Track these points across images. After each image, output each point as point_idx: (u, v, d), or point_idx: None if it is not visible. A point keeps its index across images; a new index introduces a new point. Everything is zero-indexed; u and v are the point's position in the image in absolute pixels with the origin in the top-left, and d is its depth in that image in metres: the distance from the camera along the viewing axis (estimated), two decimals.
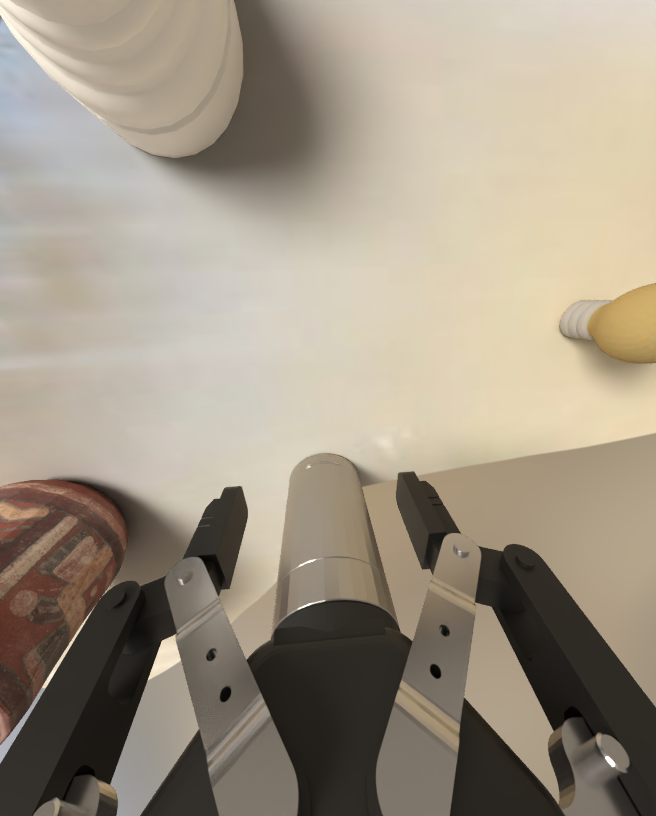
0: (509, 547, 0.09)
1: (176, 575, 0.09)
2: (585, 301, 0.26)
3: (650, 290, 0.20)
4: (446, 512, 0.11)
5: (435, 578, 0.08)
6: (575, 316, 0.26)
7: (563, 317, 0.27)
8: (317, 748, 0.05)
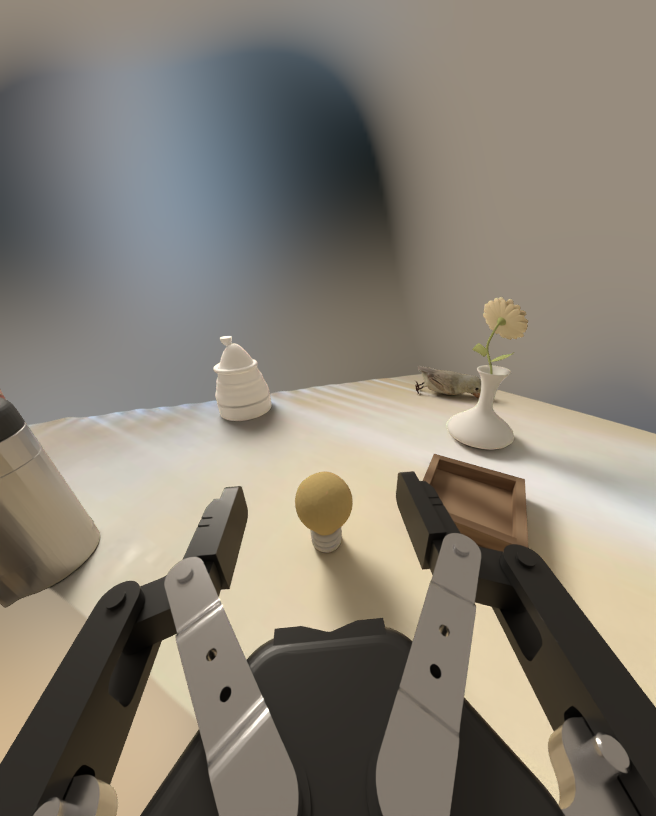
0: (509, 547, 0.09)
1: (176, 575, 0.09)
2: None
3: None
4: (445, 512, 0.11)
5: (435, 578, 0.08)
6: None
7: None
8: (317, 749, 0.05)
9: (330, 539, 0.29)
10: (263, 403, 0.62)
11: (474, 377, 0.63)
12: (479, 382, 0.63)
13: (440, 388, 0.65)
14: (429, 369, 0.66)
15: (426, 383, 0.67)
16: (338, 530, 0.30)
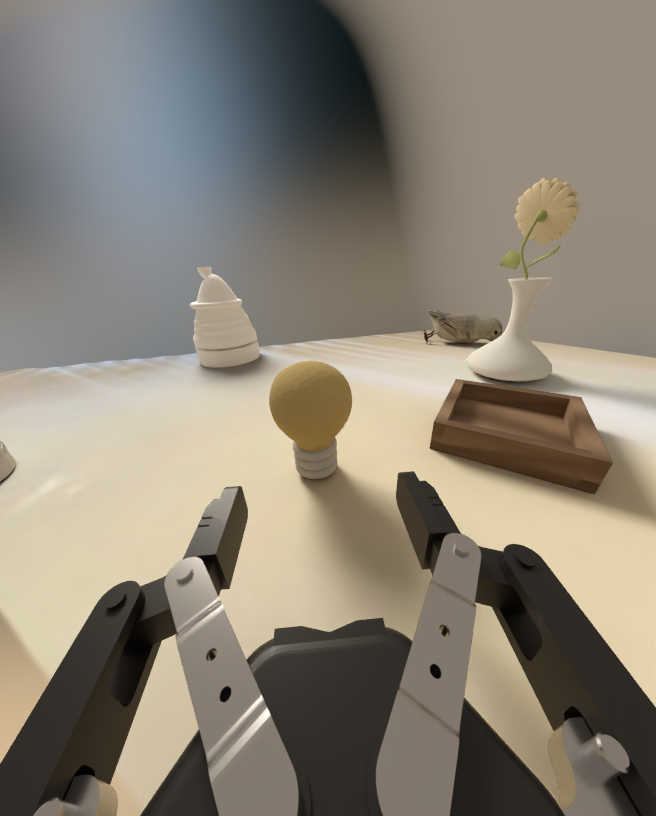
0: (509, 547, 0.09)
1: (176, 575, 0.09)
2: None
3: None
4: (446, 512, 0.11)
5: (435, 578, 0.08)
6: None
7: None
8: (317, 748, 0.05)
9: (320, 457, 0.21)
10: (249, 348, 0.54)
11: (493, 318, 0.55)
12: (499, 324, 0.54)
13: (453, 333, 0.57)
14: (440, 312, 0.57)
15: (436, 329, 0.58)
16: (332, 446, 0.21)
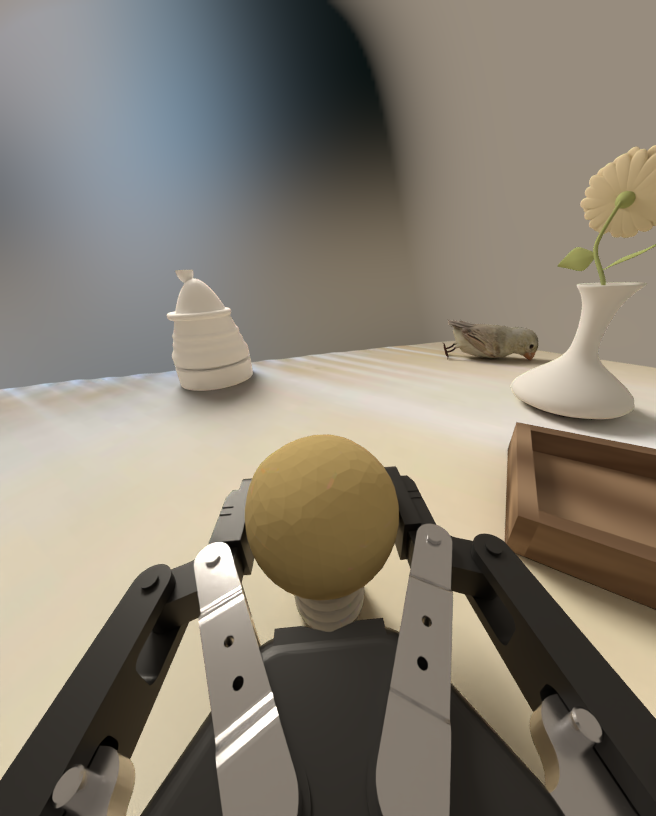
0: (478, 537, 0.09)
1: (204, 559, 0.09)
2: None
3: None
4: (423, 505, 0.11)
5: (413, 571, 0.08)
6: None
7: None
8: (317, 749, 0.05)
9: (339, 606, 0.11)
10: (239, 367, 0.45)
11: (527, 330, 0.46)
12: (535, 337, 0.46)
13: (480, 348, 0.48)
14: (464, 323, 0.49)
15: (460, 343, 0.50)
16: None
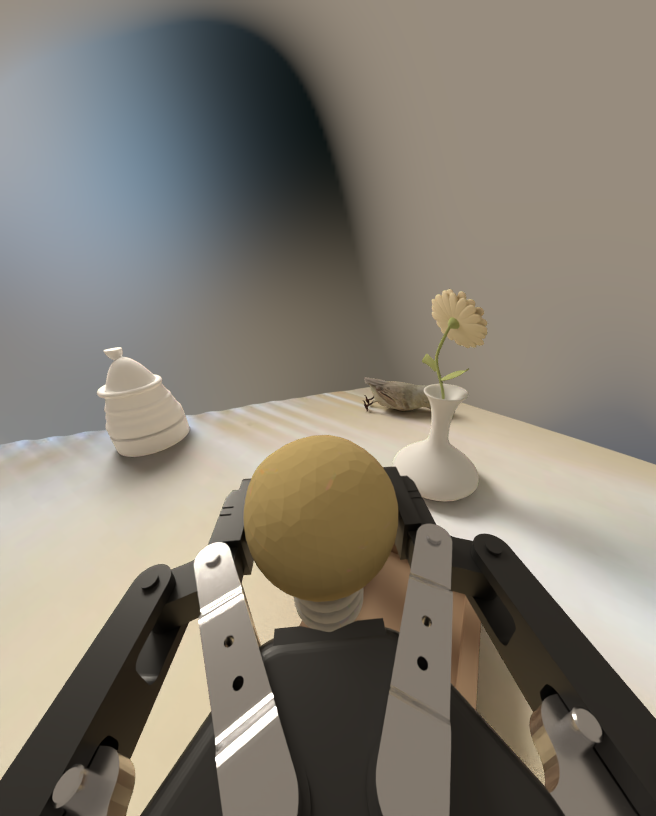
0: (478, 537, 0.09)
1: (204, 559, 0.09)
2: None
3: None
4: (423, 505, 0.11)
5: (413, 570, 0.08)
6: None
7: None
8: (317, 748, 0.05)
9: (338, 607, 0.11)
10: (170, 432, 0.49)
11: None
12: None
13: (392, 404, 0.54)
14: (378, 381, 0.54)
15: (375, 398, 0.55)
16: None
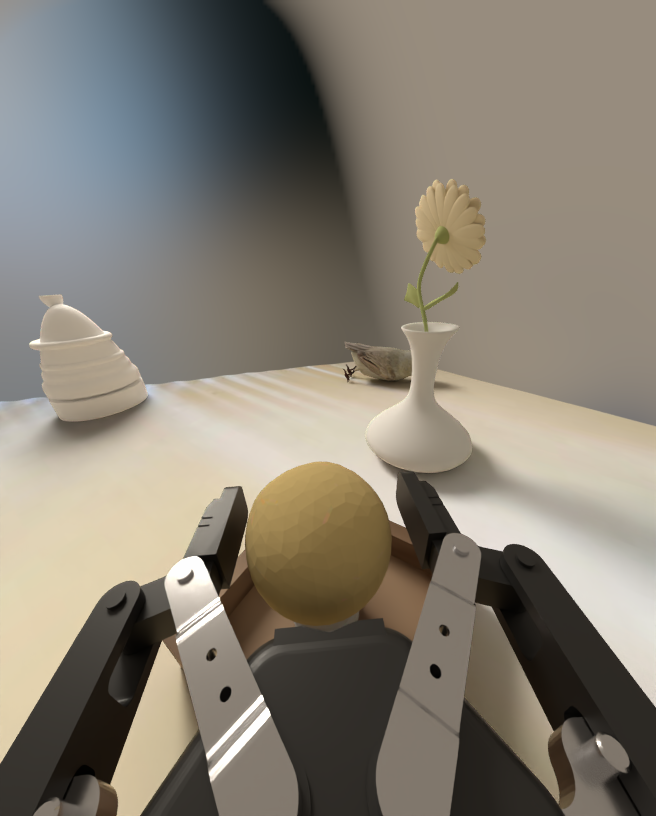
0: (509, 547, 0.09)
1: (176, 575, 0.09)
2: None
3: None
4: (445, 512, 0.11)
5: (435, 578, 0.08)
6: None
7: None
8: (317, 748, 0.05)
9: (334, 626, 0.12)
10: (118, 395, 0.42)
11: None
12: None
13: (375, 371, 0.47)
14: (360, 346, 0.47)
15: (357, 366, 0.48)
16: None
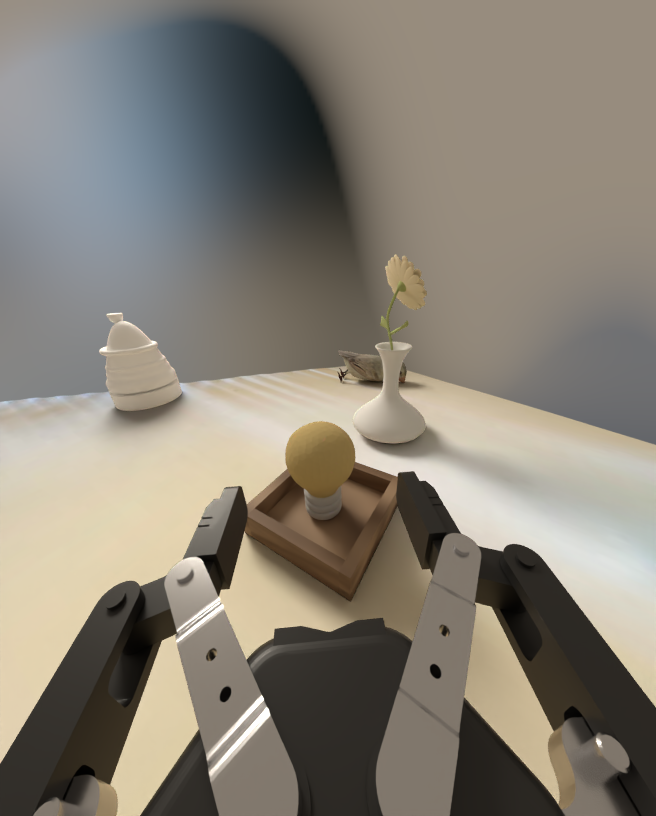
0: (509, 547, 0.09)
1: (176, 575, 0.09)
2: None
3: None
4: (446, 512, 0.11)
5: (435, 578, 0.08)
6: None
7: None
8: (317, 748, 0.05)
9: (328, 502, 0.24)
10: (162, 391, 0.54)
11: None
12: (402, 365, 0.58)
13: (363, 374, 0.59)
14: (350, 354, 0.60)
15: (348, 369, 0.60)
16: (337, 492, 0.25)
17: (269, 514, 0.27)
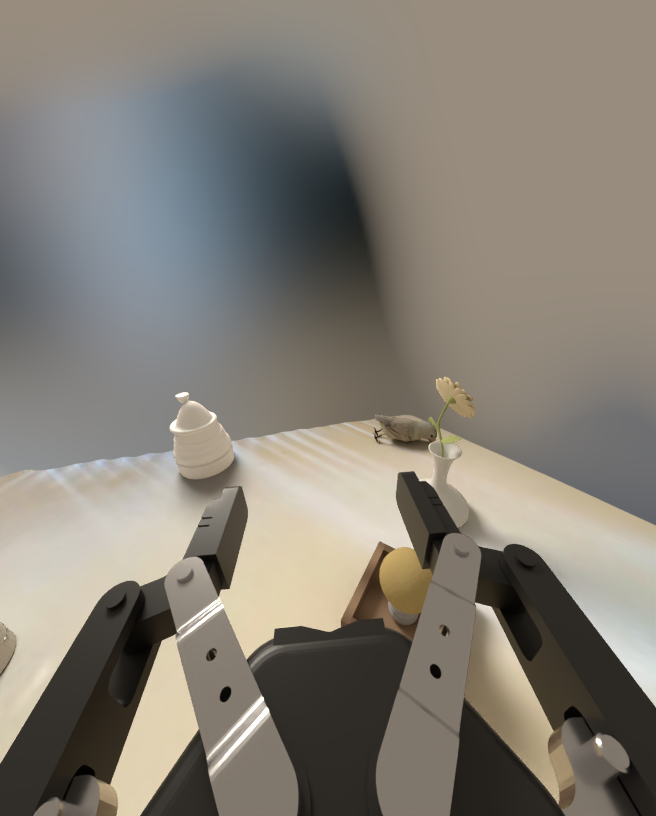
0: (509, 547, 0.09)
1: (176, 575, 0.09)
2: None
3: None
4: (446, 512, 0.11)
5: (435, 578, 0.08)
6: None
7: None
8: (317, 748, 0.05)
9: (413, 615, 0.30)
10: (222, 459, 0.61)
11: (428, 424, 0.65)
12: (433, 429, 0.65)
13: (398, 437, 0.66)
14: (386, 418, 0.66)
15: (384, 432, 0.67)
16: None
17: (359, 616, 0.33)
